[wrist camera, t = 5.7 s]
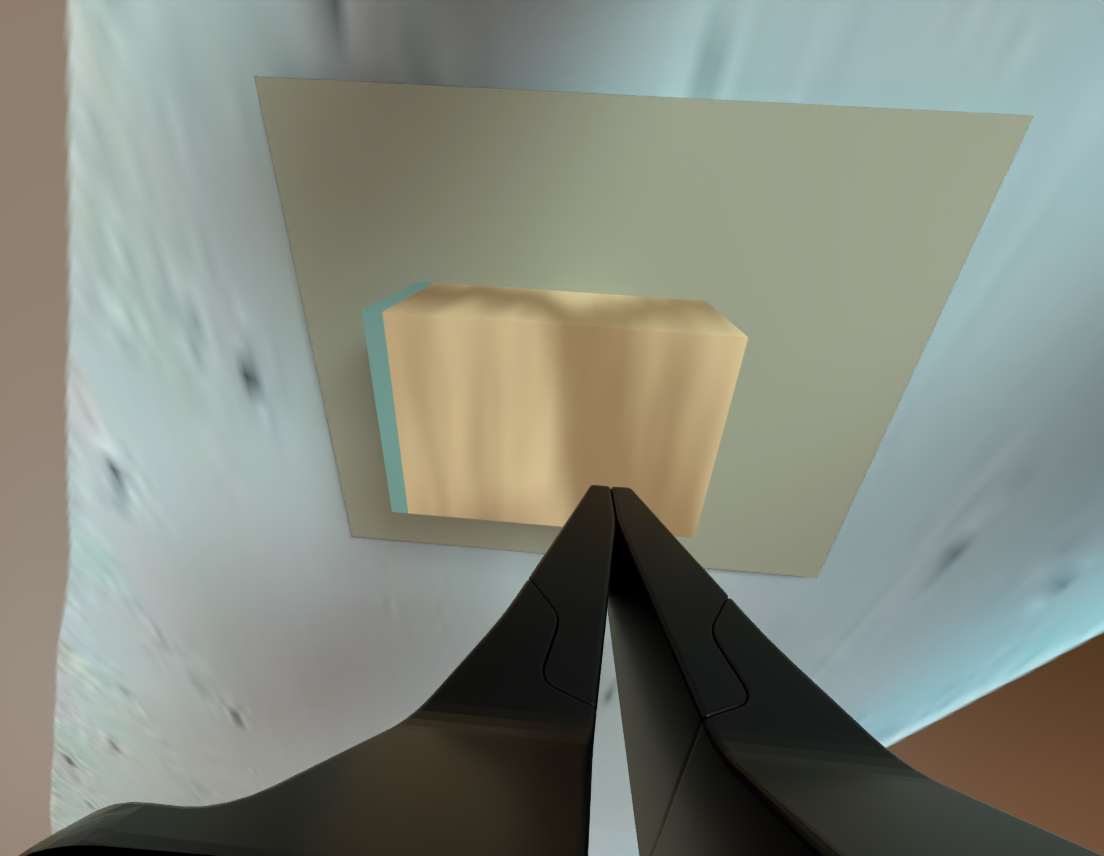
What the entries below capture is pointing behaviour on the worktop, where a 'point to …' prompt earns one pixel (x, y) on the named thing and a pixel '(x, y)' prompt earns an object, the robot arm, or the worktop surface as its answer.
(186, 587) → the worktop surface
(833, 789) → the robot arm
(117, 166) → the worktop surface
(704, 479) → the beech block
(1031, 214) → the worktop surface
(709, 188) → the rubber mat
